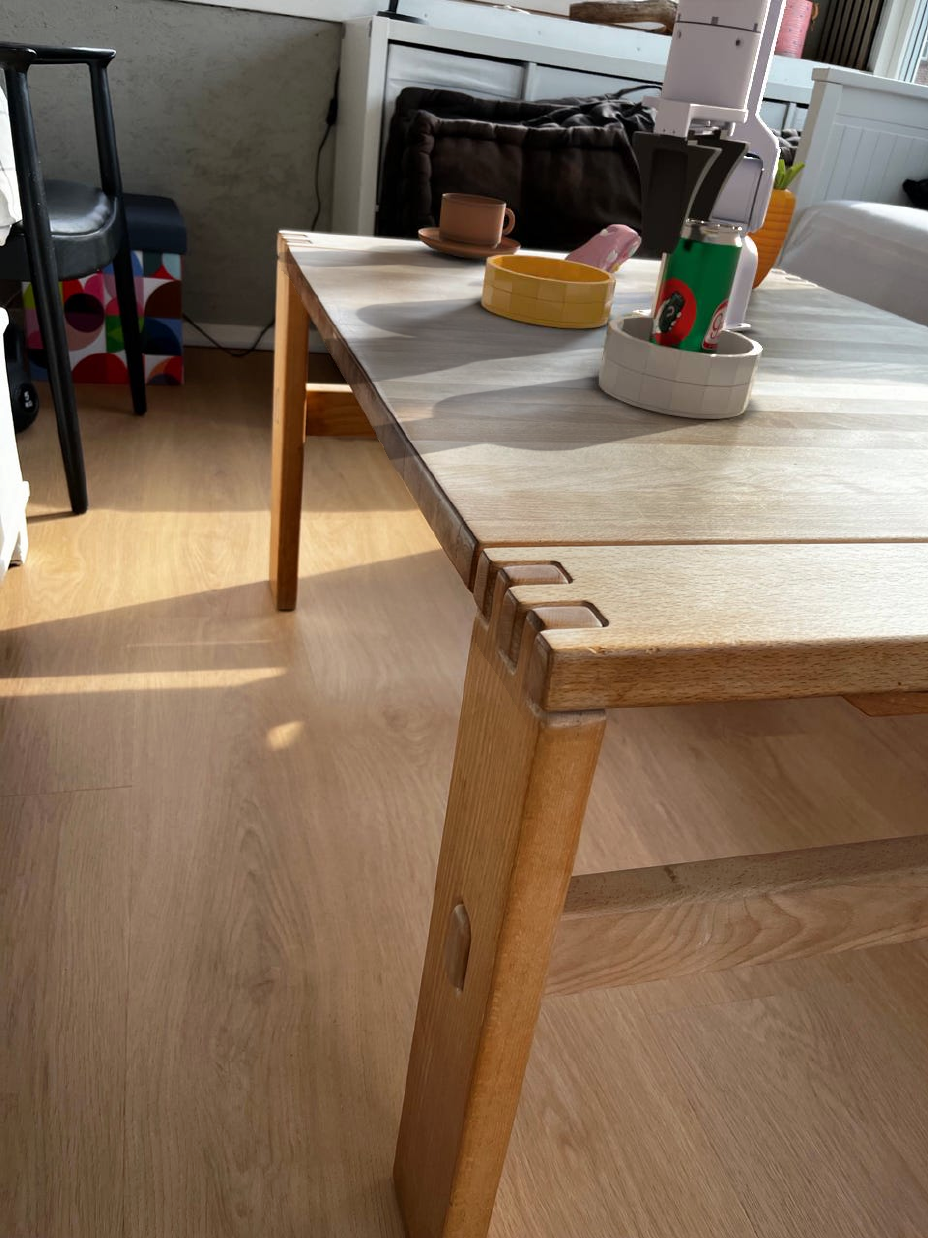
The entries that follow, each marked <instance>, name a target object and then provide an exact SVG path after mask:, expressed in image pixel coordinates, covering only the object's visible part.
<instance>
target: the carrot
mask: <svg viewBox="0 0 928 1238" xmlns="http://www.w3.org/2000/svg"><path fill="white" fill-rule="evenodd" d="M776 167H777V171H776V176H775V180H774V185H773V189H772V193H771V197H770V201H769V205H768V208H767V212H766V216H765V219H764V223H763V225H762V227H761V228H760V229H758V230H757V231H756V232H755V233H752V232H748V234H747V236H749V237H750V238H751V239H752V241H753V242H754V244H755V246H756V250H757V255H758V264H757V270H756V274H755V277H754V281H753V285H752V289H751V291H752V290H755V289H757V288H758V287H759V286H760V285H761V283H762V282H763V281H764V280H765V278H766V277H767V276H768V275H769V274H770V272H771V270H772V269H773V267H774V265H775V263H776V261H777V259H778V257H779V254H780V252H781V250H782V248H783V245H784V243H785V241H786V237H787V235H788V231H789V228H790V225H791V222H792V218H793V215H794V211H795V208H796V203H797V202H796V201H797V200H796V196H795V195H794V194H793V193H792V192H791V191H790V190H788V189H787V187H788V186H789V185H790V184H791V183H792V181H793V180H794V179H795V178H796V176H797V175H798V174H799V173H800V172H801V171H802V170H803V169H804V168H805V167H806V164H805V163H804V162H803V161H798V162H797V163H796V164H795V166H793V165H792V166H790V167H789V168H788V169H787V171H786V166H785V161H784V159H781V158H780V159H778V162H777V166H776Z"/></svg>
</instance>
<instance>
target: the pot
mask: <svg viewBox="0 0 928 1238" xmlns="http://www.w3.org/2000/svg"><path fill="white" fill-rule="evenodd" d="M653 317H654V316H641V315H634V316H632V315H625V316H617V317H614V318H613V319H611V320H608V324H607V330H606V334H605V339H604V345H603V351H602V355H601V361H600V367H599V370H598V371H599V372H598V386H599V388H600V389H601V390H602V391H603V392H604V393H606V394H607V395H609V396H610V397H612V398H614V399H616V400H619V401H621V402H623V403H625V404H628V405H631V406H634V407H637V408H640V409H643V410H648V411H651V412H655V413H659V414H663V415H670V416H676V417H682V418H689V419H703V420H705V419H706V420H712V419H713V420H717V419H719V420H720V419H729V418H730V419H731V418H734V417H738V416H740V415H742V414H744V412H745V411H746V410H747V406H748V405H749V403H750V399H751V395H752V391H753V388H754V384H755V381H756V377H757V373H758V369H759V366H760V362H761V358H762V354H763V350H764V349H763V348H762V346H761V345H760V344H759V343H758V341H756V340H754V339H751V338H750V337H748V336H746V335H744V334H742V333H739V332H737V331H734V332H733V331H730V330H727V329H723V328H722V332H721V336H720V340H719V344H718V349H717V353H716V354H706V353H699V352H691V351H684V350H678V349H674V348H670V347H665V346H661V345H656V344H653V343H650V342H648V341H649V336H650V332H651V327H652V322H653Z"/></svg>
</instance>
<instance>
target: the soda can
mask: <svg viewBox="0 0 928 1238" xmlns="http://www.w3.org/2000/svg"><path fill="white" fill-rule="evenodd" d="M740 231H741V228H739V227H737V226H735V225H731V224H728V223H723V222H718V221H713V220H706V219H698V218H687V221H686V224H685V227H684V230H683V233H682V235H681V238H680V240H679V243H678V245H677V247H676V249H675V251H674V253H672V254H667V255H666V260H665V265H664V270H663V274H662V279H661V284H660V289H659V293H658V298H657V303H656V308H655V313H654V317H653V322H652V327H651V332H650V336H649V341H648V342H650V343H653V344H656V345H661V346H665V347H670V348H674V349H678V350H684V351H691V352H699V353H706V354H716V353H717V349H718V344H719V340H720V336H721V332H722V328H723V324H724V320H725V316H726V312H727V307H728V303H729V299H730V295H731V291H732V287H733V283H734V279H735V275H736V271H737V266H738V262H739V258H740V254H741V250H742V246H743V245H742V242H741V239H740V236H739V232H740Z"/></svg>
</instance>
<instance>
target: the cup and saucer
mask: <svg viewBox="0 0 928 1238" xmlns="http://www.w3.org/2000/svg"><path fill="white" fill-rule="evenodd" d="M506 206H507V203H506V201H503V200H500V199H496V198H492V197H489V196H488V197H487V196H482V195H475V194H469V193H468V194H467V193H454V192H453V193H452V192H450V193H443V194H442V196H441V205H440V217H439V226H438V227H424V228H421V229H418V232H417V235H418V238H419V239H420V241H421V242H422V243H423V244H424V245H425V246H427V247H429V248H431V249H432V250H435V251H437V252H440V253H443V254H446V255H450V256H453V257H458V258H464V259H471V260H487V258H488V257H492V256H496V255H513V254H515V255H516V253H517V252H519V250H520V249H521V243H520V242H518V241H517V240H515V239H513V238H509V237H507V236H506V235H509V234H510V233H511V232H512V230H513V229H514V227H515V222H516V221H515V220H516V219H515V214H514V212H513V211H512V210H511V209H510V208H507V207H506ZM505 215H506V216H508V218H509V219H508V220H509V223H508V226H507V227H506V228H504V229H503V226H504V219H505V218H504V217H505Z"/></svg>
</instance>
